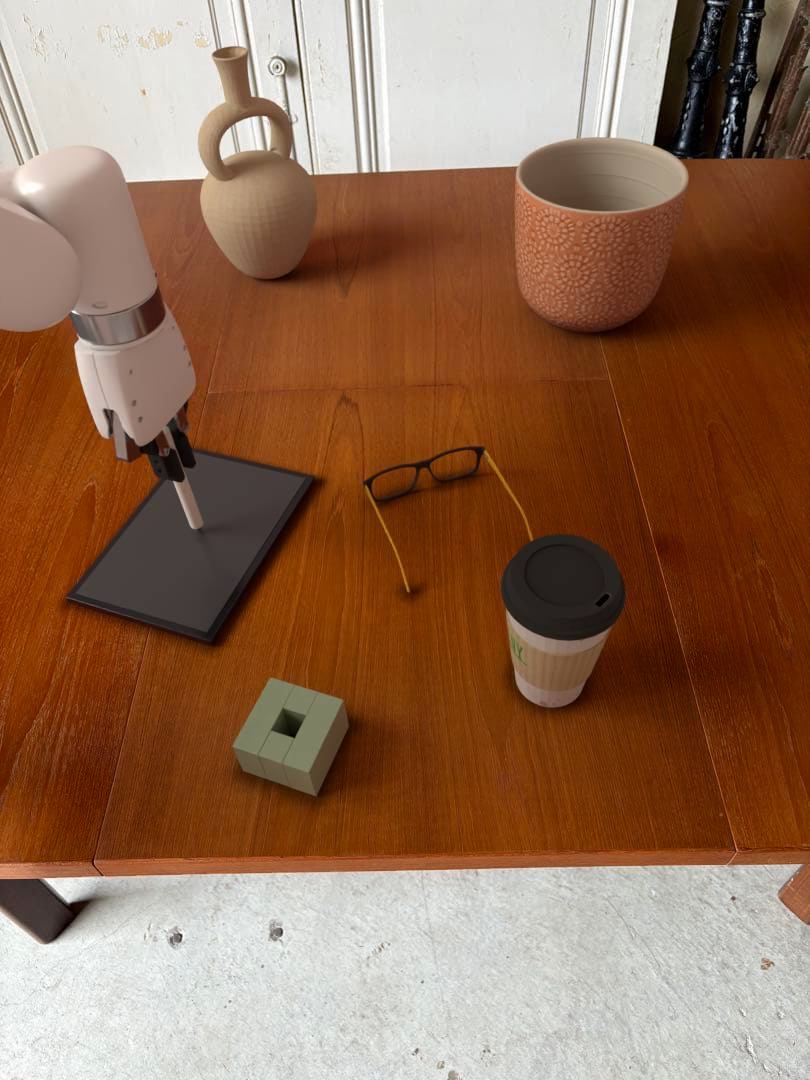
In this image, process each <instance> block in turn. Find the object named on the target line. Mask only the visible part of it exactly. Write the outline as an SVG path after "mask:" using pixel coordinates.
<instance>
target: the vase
mask: <svg viewBox="0 0 810 1080" xmlns="http://www.w3.org/2000/svg"><path fill="white" fill-rule="evenodd" d="M210 57H211V59H212V61H213V62H214V65H215V66H216V67H215V68H216V70H217V72H218V75H219V79H220V82H221V85H222V88H223V93H224V98H225V102H223V103H221V104H219V105H217V106H216V107H215V108H213V109H211V111H210V112H209V113H208V114H206V116H205V117H204V119H203V121H202V123H201V125H200V127H199V130H198V134H197V147H198V148H197V149H198V154H199V157H200V159H201V162H202V164H203V166H204V167H205V169H206V170H207V171H208V173H207V174H206V176H205V178H204V179H203V182H202V184H201V190H200V193H199V194H200V195H199V199H200V202H199V204H200V208H201V214H202V217H203V220H204V222H205V224H206V227H207V230H208V231H209V232H210V234H211V237H212V238H213V240H214V242H216V244H217V246H218V247H219V250H221V251H222V253H223V255H224V256H225V257H226V258H227V259H228V260H229V262H230V263H231V264H232V265H234V267H235V268H236V269H238V270H239V271H240V272H242V273H243V274H244V275H246V276H248V277H251V278H255V279H259V280H272V279H277V278H281V277H283V276H285V275H287V274H289V273H290V272H292V271H293V270H294V269H296V267H297V266H298V265H299V263H300V262H301V260H302V258H303V256H304V255H305V252H306V251H307V249H308V246H309V244H310V241H311V238H312V235H313V232H314V228H315V224H316V220H317V213H318V197H317V190H316V186H315V183H314V181H313V179H312V177H311V176H310V173H308V171H307V170H306V169H305V168H304V167H303V166H302V165H301V164H300V163H299V162H298V161H296V160H295V159H293V158H292V157H291V153H292V149H293V129H292V124H291V121H290V118H289V116H288V114H287V112H286V111H284V109H283V108H282V107H281V106H280V105H279V104H278V103H276V102H274V101H272V100H271V99H268V98H265V97H259V96H252V91H251V85H250V77H249V68H248V67H249V64H248V61H249V59H248V58H249V50H248V48H246V47H244V46H239V45H229V46H224V47H221V48H218V49H216V50H214V51H213V52H212V53H211V56H210ZM255 117H266V118H267V120H268V123H269V126H270V141H269V150H267V149H265V150H264V149H253V150H252V149H251V150H245V151H240V152H235V153H234V154H231V155H229V156H227V157H225V158H222V156H221V149H220V146H221V142H222V139H223V137H224V135H225V134H226V133H227V131H228V130H229V129H230V128H232V127H233V126H234V125H236V124H238V123H239V122H241V121H244V120H247V119H250V118H255Z"/></svg>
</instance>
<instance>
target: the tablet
mask: <svg viewBox="0 0 810 1080" xmlns="http://www.w3.org/2000/svg"><path fill="white" fill-rule="evenodd" d="M191 449H192V452H193V455H194V458H195V461H196V465H195V466H194V468H191V469H190V468H186V467H183V468H184V471H185V474H186V476H187V479H188V482H189V484H190V487H191V490H192V493H193V495H194V498H195V501H196V504H197V506H198V509H199V512H200V515H201V517H202V520H203V526H202V530H201V531H199V532H197V531H196V530H195V529H193V528H191V526H190V524H189V521H188V519H187V516H186V513H185V511H184V508H183V506H182V503H181V500H180V498H179V495H178V493H177V490H176V487H175V485H174V482H173V481H171V480H166V479H161V478H159V480H158V481H157V483H156V484H155V485H154V487H152V489H151V490H150V491H149V492H148V494H147V495H146V496H145V498H143V500H142V501H141V503H140V504H139V505H138V506H137V507H136V509H135V510H134V511H133V513H132V514H131V515H130V516H129V518H128V519H127V520H126V521H125V522H124V524H123V525H122V526H121V528H120V529H119V530H118V531H117V532H116V533H115V535H114V536H113V537H112V539H110V541H109V543H108V544H107V545H106V546H105V548H104V549H103V550H102V551H101V552H100V553H99V555H98V556H97V557H96V558H95V560H94V561H93V562H92V564H91V565H90V566H89V567H88V569H87V570H86V571H85V572H84V573H83V575H82V576H81V578H79V580H78V581H77V582H76V584H75V585H74V586H73V587H72V588H71V590H70V591H69V593H67V595H66V596H65V599H66V601H67V603H69V604H72V605H76V606H80V607H82V608H85V609H88V610H92V611H95V612H98V613H102V614H105V615H108V616H112V617H114V618H119V619H122V620H124V621H128V622H132V623H135V624H138V625H141V626H144V627H147V628H150V629H154V630H157V631H160V632H163V633H167V634H170V635H173V636H177V637H180V638H183V639H186V640H191V641H193V642H197V643H200V644H203V645H207V646H208V647H209V646H210V647H213V646H214V644H215V643H216V641H217V640H218V638H219V636H220V635H221V633H222V631H224V628H225V627H226V625H227V624H228V622H229V621H230V619H231V617H232V616H233V614H234V612H235V611H236V610H237V608H238V606H239V605H240V602H242V600H243V598H244V596H245V595H246V593H247V592H248V590H249V589H250V587H251V585H252V583H253V582H254V581H255V579H256V577H257V576H258V574H259V573H260V571H261V569H262V568H263V567H264V565H265V563H266V562H267V560H268V559H269V557H270V555H271V554H272V552H273V551H274V549H275V547H276V546H277V544H278V543H279V541H280V539H281V538H282V536H283V535H284V533H285V531H287V528H288V527H289V525H290V524H291V523H292V520H293V519H294V517H295V515H296V514H297V513H298V511H299V509H300V508H301V506H302V505H303V503H304V501H305V500H306V498H307V496H308V495H309V493H310V491H311V490H312V489H313V487H314V485H315V483H316V482H317V480H316V476H315V475H312V474H308V473H305V472H299V471H295V470H291V469H286V468H282V467H278V466H274V465H270V464H264V463H260V462H256V461H252V460H249V459H248V460H247V459H243V458H240V457H234V456H231V455H225V454H221V453H217V452H213V451H209V450H204V449H199V448H196V447H192V446H191Z"/></svg>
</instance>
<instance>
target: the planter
mask: <svg viewBox="0 0 810 1080" xmlns="http://www.w3.org/2000/svg"><path fill="white" fill-rule="evenodd" d="M689 182H690V174H689V171H688V169H687V167H686V165H685V164H684V163H683V161H681V160H680V159H679V158H678V157H676V156H675V155H674V154H672V153H670V152H669V151H667V150H665V149H663V148H661V147H659V146H656V145H652V144H649V143H646V142H643V141H638V140H634V139H633V140H632V139H629V138H628V139H627V138H621V137H604V136H603V137H602V136H598V137H597V136H594V137H578V138H571V139H566V140H561V141H557V142H553V143H549V144H547V145H544V146H542V147H539V148H537V149H535V150H534V151H532V152H530V153H529V154H527V155H526V156H525V157H523V159H522V160H521V161H520V162H519V164H518V165H517V168H516V171H515V182H514V183H515V184H514V254H515V255H514V256H515V267H516V274H517V282H518V286H519V287H518V288H519V290H520V293H521V295H522V297H523V299H524V301H525V302H526V304H527V305H528V307H529V308H530V309H531V310H532V311H533V312H534V313H535V314H536V315H537V316H538V317H539V318H541V319H542V320H543V321H545V322H547V323H548V324H551V325H553V326H555V327H557V328H558V329H559V328H560V329H563V330H566V331H570V332H578V333H598V332H605V331H610V330H613V329H616V328H619V327H620V326H621V327H622V326H623V325H626V324H627V323H629V322H631V321H632V320H634V319H635V318H637V317H638V316H640V315H641V314H642V313H643V312H644V311H645V310H646V309H647V308H648V307H649V306H650V304H651V303H652V302H653V300H654V298H655V297H656V295H657V293H658V291H659V289H660V286H661V283H662V281H663V278H664V276H665V273H666V270H667V267H668V264H669V261H670V258H671V254H672V251H673V248H674V244H675V240H676V236H677V233H678V230H679V227H680V222H681V218H682V214H683V210H684V206H685V201H686V198H687V197H686V196H687V192H688V189H689V188H688V187H689Z"/></svg>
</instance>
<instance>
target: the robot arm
mask: <svg viewBox="0 0 810 1080" xmlns="http://www.w3.org/2000/svg"><path fill="white" fill-rule="evenodd" d="M157 277H158V274H157V272H156V270H155V269H154V267H153V264H152V261H151V258H150V255H149V251H148V249H147V244H146V242H145V239H144V235H143V232H142V229H141V226H140V223H139V220H138V217H137V213H136V210H135V207H134V203H133V199H132V197H131V194H130V190H129V188H128V184H127V181H126V178H125V175H124V173H123V170H122V167H121V165H120V164H119V162H118V160H116V158H115V157H114V156H112V154H110V153H109V152H108V151H105V150H104V149H101V148H99V147H95V146H92V145H91V146H90V145H69V146H62V147H56V148H53V149H50V150H47V151H45V152H42V153H39V154H37V155H35V156H34V157H32V158H30V159H29V160H28V161H26V162H25V163H24V164H21V165H17V166H12V167H8V168H4V169H0V330H4V331H10V332H18V333H30V332H37V331H42V330H43V331H44V330H45V329H49V328H51V327H53V326H55V325H57V324H59V323H61V322H62V321H63V320H65V319H66V318H67V317H68V316H69V319H70V321H71V324H72V325H73V328H74V331H75V332H76V335H77V337H78V340H77V341H76V342H75V343H74V347H73V348H74V355H75V361H76V366H77V371H78V375H79V379H80V383H81V386H82V389H83V393H84V396H85V398H86V402H87V404H88V408H89V410H90V413H91V416H92V418H93V421H94V423H95V425H96V426H95V427H96V429H97V430H98V433H99V434H100V435H101V437H102V438H103V439H106V440H110V439H112V437H113V440H114V441H113V442H114V449H115V457H116V459H117V460H118V461H122V462H126V463H131V464H132V463H133V462H134V461H136V460H138V459H140V458H142V456H143V455H146V456H147V458H148V461H149V463H150V466H151V469H152V472H153V473H154V476H156V477H157V478H159V479H166V480H171V481H175V482H179V483H182V482H183V481H184V479H185V475H184V472H183V469H182V466H181V463H182V465H183V467H186V468H190V469H191V468H194V466H195V465H196V461H195V458H194V455H193V452H192V449H191V447H192V446H191V443H190V440H189V437H188V434H187V433H188V431H189V428H190V425H189V424H190V423H189V420H188V416H187V412H188V406H189V401H190V398H191V397H192V395H193V393H194V391H195V389H196V386H197V379H196V372H195V368H194V365H193V362H192V358H191V355H190V352H189V349H188V347H187V344H186V341H185V339H184V337H183V334H182V331H181V330H180V328H179V325H178V323H177V321H176V319H175V317H174V315H173V314H172V311H171V310H170V308H169V306H168V305H167V303H166V302H165V301H164V298H163V296H162V292H161V289H160V286H159V283H158V279H157ZM165 426H167V427H169V430H170V432H171V435H172V438H173V441H174V443H175V446H176V449H177V452H178V454H179V457H180V460H181V463H180V461H179V458H178V455H177V452H176V450H175V449H172V448H170V447H169V444H168V442H167V439H166V437H165V434H164V432H163V430H162V429H163V428H164V427H165Z"/></svg>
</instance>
